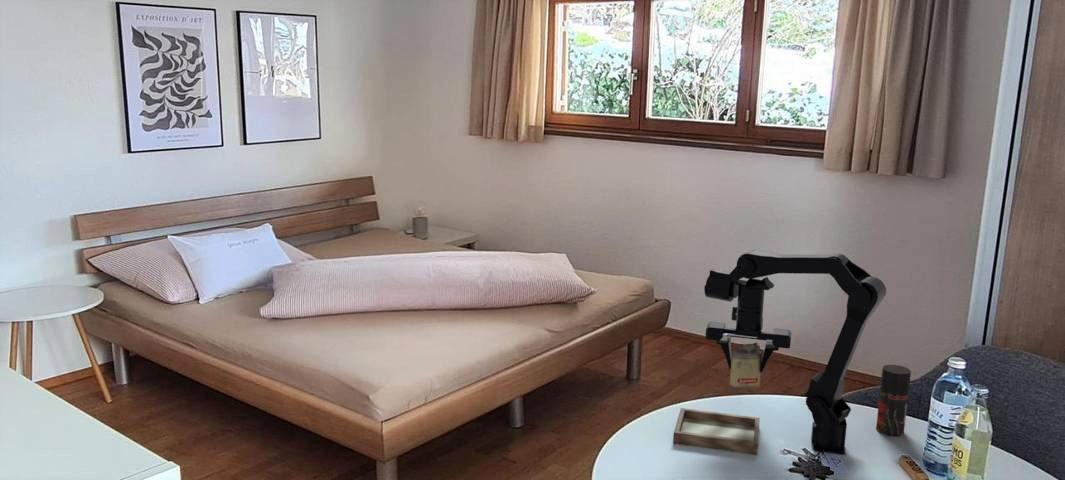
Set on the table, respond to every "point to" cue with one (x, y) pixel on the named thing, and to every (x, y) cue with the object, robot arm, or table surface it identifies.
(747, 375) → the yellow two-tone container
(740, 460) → the table surface
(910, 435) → the table surface
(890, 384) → the deodorant
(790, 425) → the table surface
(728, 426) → the tray
